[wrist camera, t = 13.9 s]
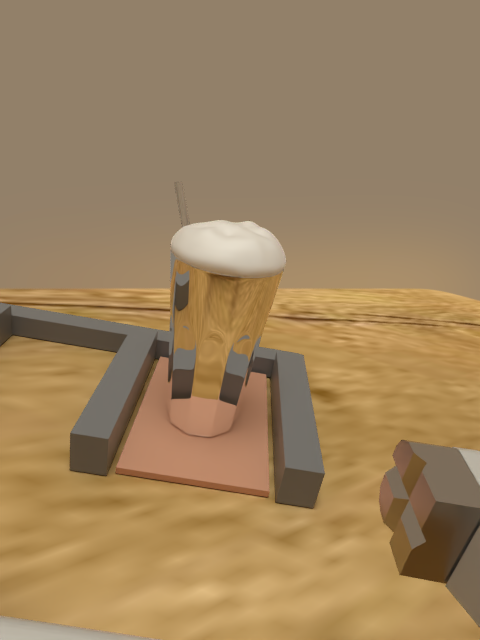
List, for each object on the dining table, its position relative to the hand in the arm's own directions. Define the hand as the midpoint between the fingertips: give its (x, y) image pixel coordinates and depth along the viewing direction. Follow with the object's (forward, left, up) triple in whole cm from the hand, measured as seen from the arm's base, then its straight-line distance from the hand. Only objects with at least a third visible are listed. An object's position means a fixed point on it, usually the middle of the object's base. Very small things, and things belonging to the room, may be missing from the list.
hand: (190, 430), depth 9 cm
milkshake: (0, -10, -8) cm, 13 cm away
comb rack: (+4, -10, -8) cm, 13 cm away
